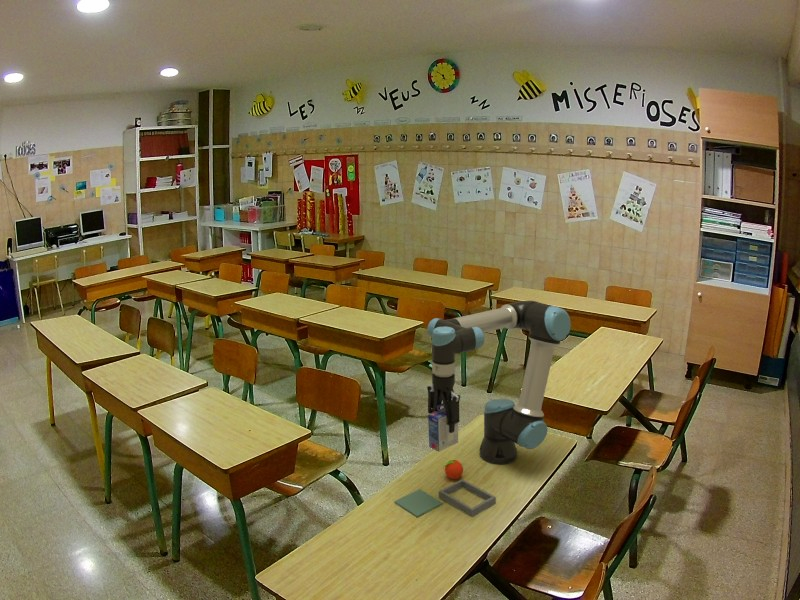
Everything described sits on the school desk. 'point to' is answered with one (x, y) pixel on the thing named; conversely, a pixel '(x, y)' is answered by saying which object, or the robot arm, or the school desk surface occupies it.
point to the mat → (418, 503)
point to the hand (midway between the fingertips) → (443, 437)
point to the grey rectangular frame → (460, 505)
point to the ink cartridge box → (440, 430)
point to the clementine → (453, 469)
